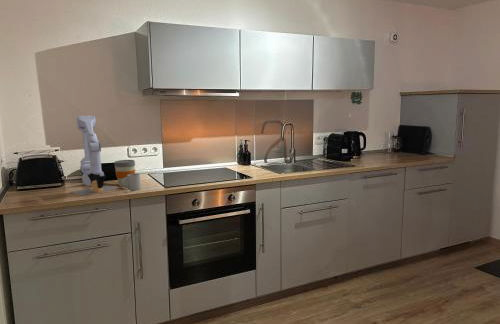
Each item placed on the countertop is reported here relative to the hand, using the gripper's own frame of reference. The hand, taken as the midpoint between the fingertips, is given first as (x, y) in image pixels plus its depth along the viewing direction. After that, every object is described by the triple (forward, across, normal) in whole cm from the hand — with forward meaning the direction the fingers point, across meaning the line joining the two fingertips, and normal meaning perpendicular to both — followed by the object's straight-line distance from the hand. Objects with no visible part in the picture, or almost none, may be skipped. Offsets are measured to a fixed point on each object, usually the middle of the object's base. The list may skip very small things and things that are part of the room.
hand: (97, 187), depth 210 cm
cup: (+4, +6, +18) cm, 19 cm away
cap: (+2, 0, 0) cm, 2 cm away
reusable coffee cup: (+4, -10, +23) cm, 25 cm away
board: (+4, -4, 0) cm, 6 cm away
